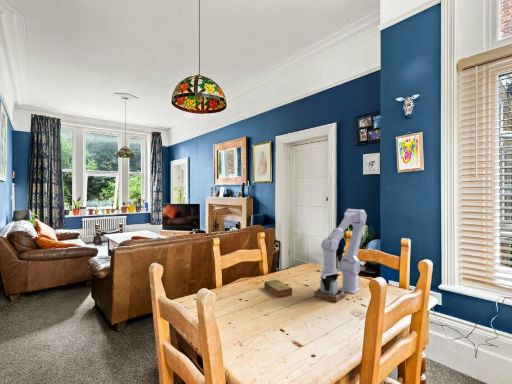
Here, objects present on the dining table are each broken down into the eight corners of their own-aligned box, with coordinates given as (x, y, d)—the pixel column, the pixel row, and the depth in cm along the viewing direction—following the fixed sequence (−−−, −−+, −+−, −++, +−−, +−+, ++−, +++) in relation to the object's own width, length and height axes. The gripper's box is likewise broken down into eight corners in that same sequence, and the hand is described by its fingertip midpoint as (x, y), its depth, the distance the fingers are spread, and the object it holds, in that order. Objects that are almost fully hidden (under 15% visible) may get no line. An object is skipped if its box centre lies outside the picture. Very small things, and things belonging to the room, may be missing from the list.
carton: (278, 298, 137) (278, 290, 137) (263, 288, 151) (263, 281, 151) (292, 295, 140) (292, 287, 140) (276, 286, 155) (276, 278, 155)
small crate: (325, 289, 143) (325, 278, 143) (337, 292, 138) (337, 280, 138) (320, 292, 139) (320, 280, 139) (333, 295, 135) (333, 283, 135)
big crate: (323, 290, 146) (323, 286, 146) (345, 296, 138) (345, 291, 138) (314, 296, 139) (314, 291, 139) (336, 302, 131) (336, 297, 131)
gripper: (329, 258, 147) (329, 283, 147) (315, 264, 136) (315, 291, 136) (341, 260, 142) (341, 286, 142) (328, 266, 131) (328, 294, 131)
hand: (329, 289), depth 139 cm, fingers closed on small crate, 5 cm apart
